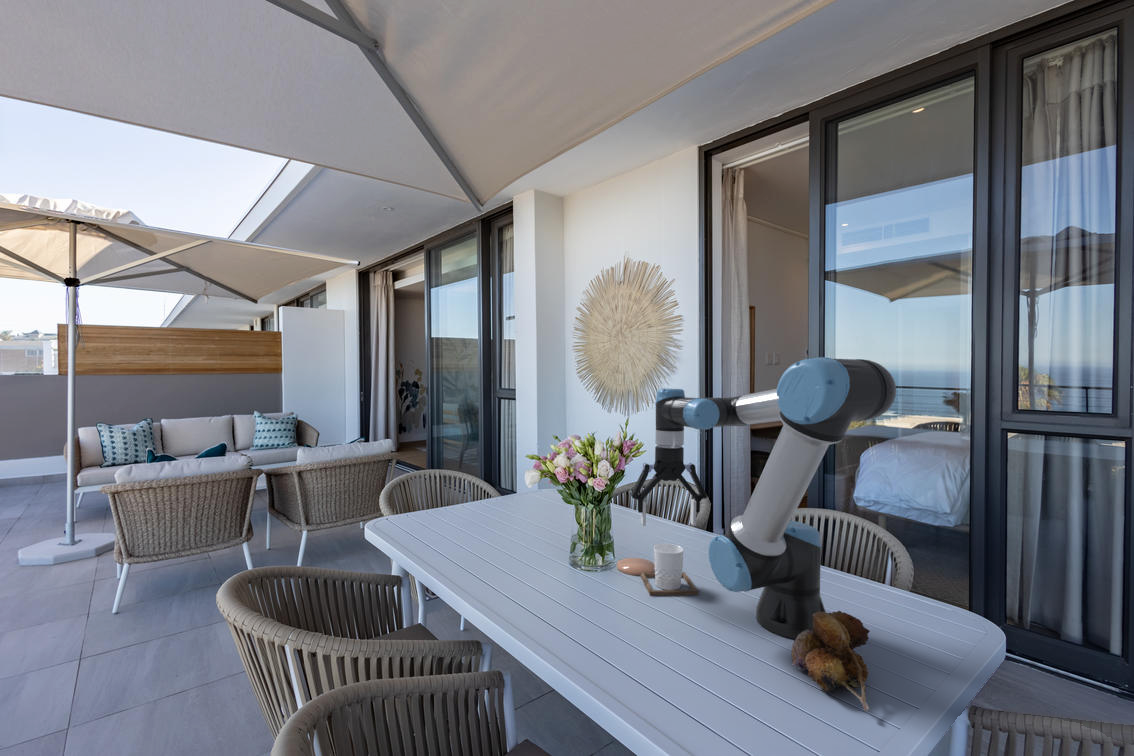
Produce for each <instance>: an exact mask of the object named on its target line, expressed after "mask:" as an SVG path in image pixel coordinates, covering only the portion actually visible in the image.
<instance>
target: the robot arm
mask: <svg viewBox="0 0 1134 756" xmlns="http://www.w3.org/2000/svg"><path fill="white" fill-rule="evenodd" d="M685 395H686V394H685V391H684V389H683V388H659V389H658V390H657V391H656V395H655V398H656V399H655V400H656V401H655V441H654V442H655V445H656V446H655V449H654V463H653V464H649V463H647V462H644V463H643V464H642V470H641V473H640V475H639V477H638V478H637V481H636V483H635V485H634V486H633V489H632V490H631V493H630V496H631V498H632V499H634V500H637V505H636V506H637V507H636V508H637V509H636V510H637V512H638V513H640V524H641V525H642V526H643V527H646V526H647V525H646V524H647V501H646V499H645V498H646V497H647V496H648V495H649V494H650V493H651V491H653V489H654V488H655V487H656V486H657V484H659V483H660V482H661V480H662V481H664V482H669V481H671V482H677V480H678V481H679V482H680V483H681V485H683V487H684V488H685V489H686V490H687V492H689V494H690V495H691V497H692V498H690V513H689V514H690V519H689V521H690V522H689V523H690V525H692V526H693V527H696V526H697V513H700V511H701V507H700V505H701V503H700V502H702V500H704V499H707V498H708V495H707V493H706V490H705V489H704V486H703V485H702V483H701V480H700V478H699V476H698V474H697V471H696V470H697V469H696V465H695V464H694V463H692V462H689V463H688V464H684V456H685V455H684V453H685V452H684V451H685V449H684V447H683V445H684V444H685V441H684V440H685V428H691V429H694V430H709V429H712V428H721V427H746V426H750V425H753V424H754V425H755V424H764V423H771V422H780V421H781V422H782V427H781V429H780V432H779V434H778V437H777V439H776V440H775V443H774V445H773V448H772V450H771V452H770V453H769V456H768V459H767V460H766V463H765V466H764V468H763V470H762V473H761V474H760V477H759V479H758V482H757V483H756V485H755V488H754V490H753V492H752V494H751V497H750V499H749V501H748V504H747V506H746V508H745V509H744V512H743V514H741V515H738V516H735V517H734V518H733V519H732V520H731V522H730V525H729V527H728V528H727V531H726V533H725V534H723V535H722V534H720V535H717V536H715V537H713V538H712V539H711V540H710V543H709V544H708V551H707V553H708V561H709V564H710V568H711V570H712V572H713V574H714V576H715V578H716V581H717V582H718V583H720V585H722V587H724V588H725V589H726V590H728V591H729V592H733V593H739V592H740V593H741V592H745V593H747V592H750V591H752V590H753V591H754V590H757V589H762V592H761V594H760V597H759V600H758V602H757V605H756V608H755V611H756V613H755V616H756V621H757V623H758V624H759V625H760V626H761V627H763V628H765V629H766V630H768V631H769V632H771V633H773V634H776V635H779V636H781V637H786V638H789V639H794V640H795V639H796V638H797V636H798V634H800V633H802V632H803V631H805V630H807V629H809V630H812V629H813V616H812V615H813V614H814V613H817V612H826V609H825V606H824V603H823V600H822V597H821V563H822V562H821V561H822V560H821V557H822V555H821V554H822V551H821V550H822V544H821V534H820V532H819V530H818V529H817V528H816V527H814V526H812V525H809V524H807V523H803V522H801V521H795V520H792V519H793V517H794V515H795V513H796V511H797V509H798V507H799V505H800V504H801V502H802V499H803V498H804V495H806V491H807V489H808V487H809V486H810V483H811V481H812V479H813V478H814V476H815V474H816V472H817V470H818V468H819V466H820V464H821V462H822V459H824V456H825V454H826V452H827V450H828V448H829V446H830V445H833V444H839V443H840V442H842V441H843V439H844V438H845V435H846V433H847V432H848V429H849V427H850V426H851V423H852V422H862V421H863V422H864V421H869V420H874V419H876V418H879V417H881V416H883V415H884V414H886V412H888V411H889V409H891V407H892V406H893V403H894V402H895V400H896V395H897V384H896V381H895V380H894V377H893V375H892V374H891V373H890V371H889V370H888V369H886V367H884V366H883V365H882V364H880V363H877V362H875V361H873V360H870V359H861V358H860V359H859V358H856V359H855V358H853V359H851V358H850V359H849V358H831V357H825V356H823V357H820V356H818V357H814V358H805V359H800V360H799V361H797V362H796V361H795V362H794V363H792V364H791V365H790V366H789V367H787V369H786V370H785V371H784V372H783V374H782V375H781V377H780V378H779V381H778V383H777V387H776V388H773V389H769V390H768V389H767V390H764V391H759V392H753V393H748V394H743V395H736V396H732V397H686V396H685ZM652 470H654V473H655V474H653V476H652V478H651V479H650V480H649V482H648V483H647V484H646V485H645V486H644V483H645V482H646V480H647V478H648V475H649V473H651V472H652ZM685 470H686V471H687V472H688V473H689V475H690V477H691V479H692V482H693V483H694V486H695V487H696V490H697V492H698V493H697V492H696V491H695V489H694V488H693V487H692V486H691V485H690V484H689V482H688V481H687V480H686V479H685V477H684V476H683V475H682V474H683V473H684V471H685ZM643 486H644V487H643ZM642 488H643V489H642ZM641 489H642V490H641ZM826 613H827V612H826Z"/></svg>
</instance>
